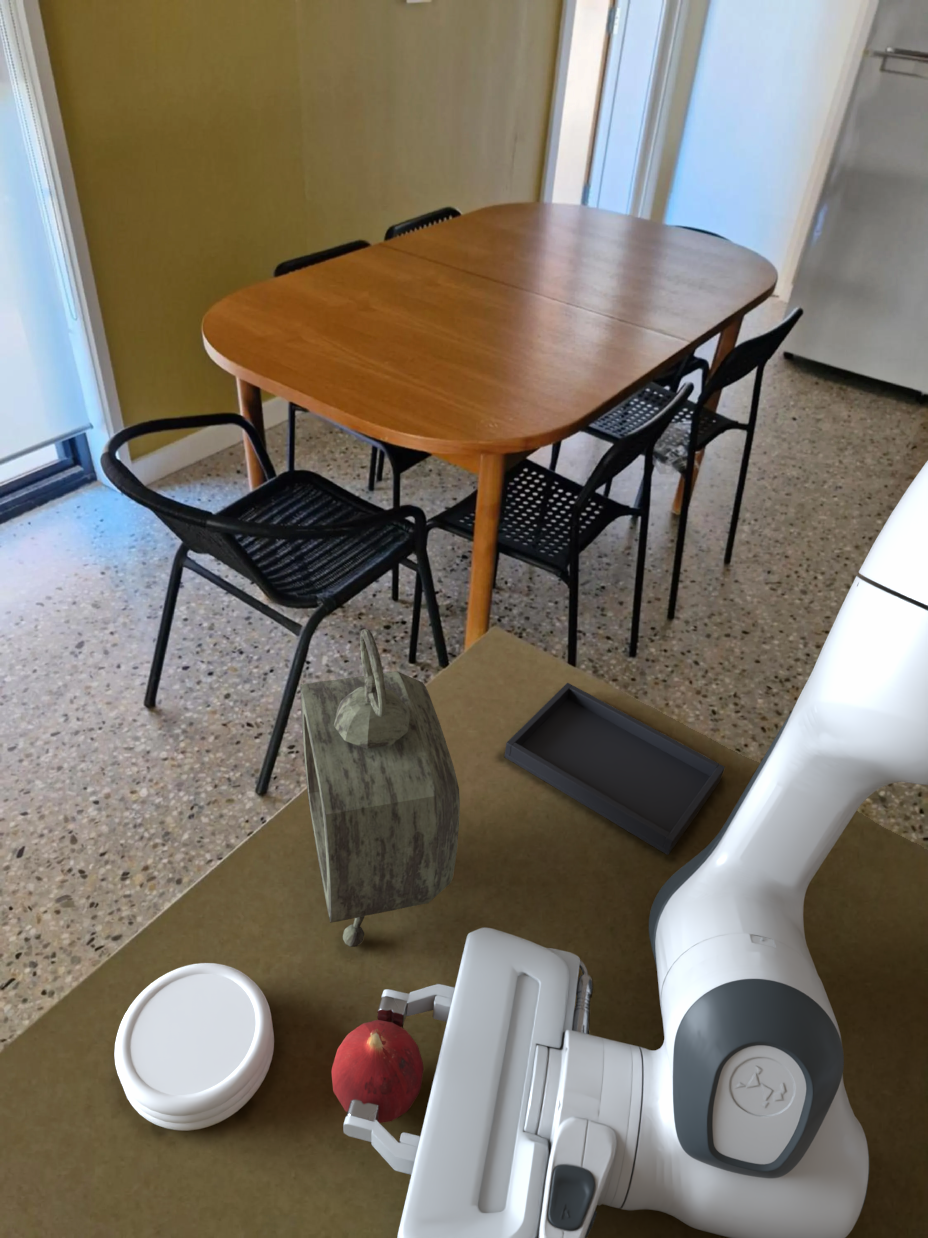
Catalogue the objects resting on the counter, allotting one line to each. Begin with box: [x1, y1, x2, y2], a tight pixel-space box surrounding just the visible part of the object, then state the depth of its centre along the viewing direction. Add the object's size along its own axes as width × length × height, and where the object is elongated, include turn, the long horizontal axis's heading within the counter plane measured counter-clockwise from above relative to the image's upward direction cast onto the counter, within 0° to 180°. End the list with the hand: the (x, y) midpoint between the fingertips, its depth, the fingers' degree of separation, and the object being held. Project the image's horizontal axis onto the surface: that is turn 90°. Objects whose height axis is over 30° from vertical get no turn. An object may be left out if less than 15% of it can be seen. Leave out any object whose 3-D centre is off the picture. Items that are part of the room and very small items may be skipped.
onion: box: [331, 1019, 424, 1124], centre depth 57 cm, size 6×6×8 cm
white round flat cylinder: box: [113, 962, 275, 1131], centre depth 59 cm, size 10×10×4 cm
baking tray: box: [503, 682, 726, 856], centre depth 83 cm, size 17×11×2 cm, turn 53°
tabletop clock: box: [299, 628, 461, 948], centre depth 65 cm, size 14×9×25 cm, turn 15°
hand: (364, 1057), depth 56 cm, fingers open, 6 cm apart
